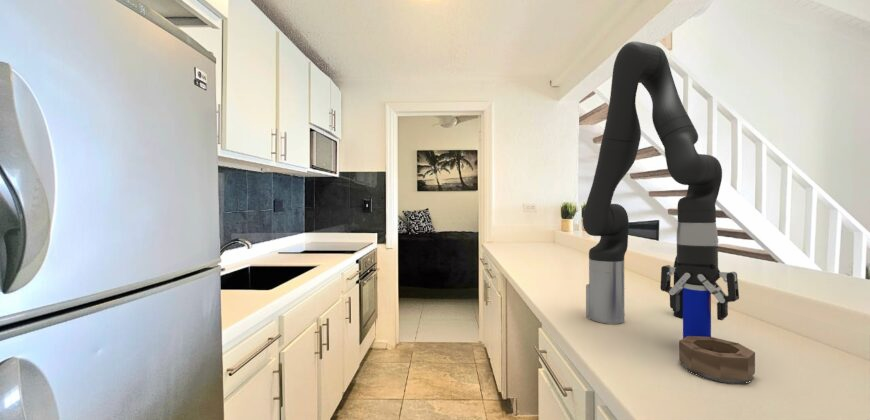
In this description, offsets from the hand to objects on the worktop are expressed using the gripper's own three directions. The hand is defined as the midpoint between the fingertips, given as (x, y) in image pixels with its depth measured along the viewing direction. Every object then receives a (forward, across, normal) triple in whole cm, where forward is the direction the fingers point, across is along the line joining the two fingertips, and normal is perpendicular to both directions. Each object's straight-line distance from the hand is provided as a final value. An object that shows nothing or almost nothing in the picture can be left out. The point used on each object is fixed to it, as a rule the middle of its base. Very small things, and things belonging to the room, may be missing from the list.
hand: (697, 315), depth 82 cm
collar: (+8, +6, -9) cm, 13 cm away
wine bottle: (+8, -11, +27) cm, 30 cm away
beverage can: (+8, 0, 0) cm, 8 cm away
